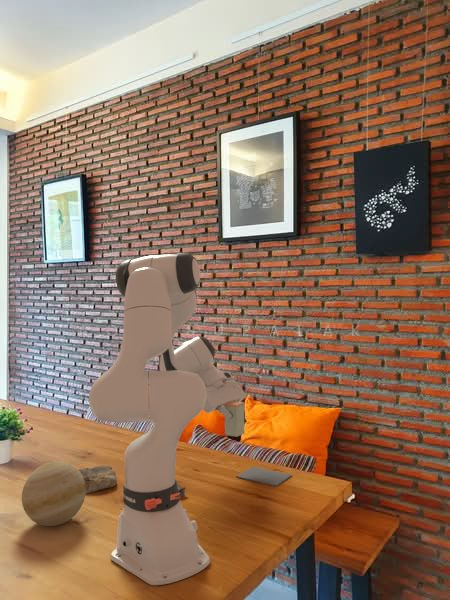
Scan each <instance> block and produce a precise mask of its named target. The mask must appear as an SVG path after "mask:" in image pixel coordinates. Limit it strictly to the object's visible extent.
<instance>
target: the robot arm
mask: <svg viewBox="0 0 450 600" xmlns="http://www.w3.org/2000/svg"><path fill="white" fill-rule="evenodd" d="M200 279H201V269H200V265H199V263H198V261H197V259H196V257H195V256H194V255H192V254H191V253H186V252H178V253H171V254H170V253H167V254H158V255H156V254H153V255H147V256H142V257H138V258H135V259H133V258H130V259H127V260H125V261H122V262H120V264H119V266H118V267H117V268H116V271H115V283H116V287H117V289H118V292H119V293H120V294H121V295H122V296H123V297H124V300H123V301H124V302H123V303H124V304H123V332H122V333H123V335H122V343H121V347H120V351H119V353H118V355H117V357H116V359H115V361H114V362H113V364H112V365H111V366H110V367H109V368H108V369H107V370H106V371H104V373H102V374H101V375H99V376H98V378H97V379H95V381H94V382H93V384H92V386H91V388H90V390H89V393H88V403H89V408H90V409H91V412H92V415H94V416H95V418H97V420H99V421H103V422H109V423H110V422H111V423H117V424H118V423H119V424H122V423H123V424H124V423H139V422H140V423H144V422H150V423H152V424H153V425H152V427H151V428H150V430H148V431H147V432H146V433H145V434H142V435H141V436H139V437H137V438H136V439H133V440H132V441H131V442H130V443H129V444H128V445H127V448H126V449H125V451H124V479H125V480H124V483H123V487H122V488H123V490H122V498H123V500H122V502H123V503H124V505H123V508H122V510H121V512H120V514H119V515H118V518H117V527H116V529H117V530H116V544H115V545H116V547H115V549H114V550H112V552H111V553H110V560H111V561H113V562H114V563H116V564H117V565H119V566H120V567H122V568H123V569H125V570H126V571H128V572H130V573H131V574H133V575H134V576H136V577H138V578H139V579H141V580H142V581H144V582H145V583H146V584H148V585H150V586H162V585H167V584H168V585H169V584H173V583H175V582H179V581H181V580H184V579H186V578H189V577H192V576H194V575H196V574H197V573H200V572H201V571H203V570H205V568H207V567H208V566H209V565H210V564H211V559H210V557H209V554H207V552H206V551H205V550H204V548H203V547H202V546H201V545H200V543H199V542H198V535H197V531H198V528H199V527H198V524H197V520H195V519H194V520H193V519H192V520H190V519H191V518H190V517H189V516H188V510H187V509H186V508H184V507H183V505H182V503H181V497H182V496H181V497H180V495H179V494H181V493H179V487H178V485H177V483H178V481H177V479H176V457H177V449H178V444H179V441H180V438H181V436H182V434H183V433H184V430H185V429H186V427H187V426H188V425H189V424H190V422H192V421H193V419H195V418H196V417H198V416H199V415H200V414H201V412H202V411H204V412H205V413H206V414H209V413H213V412H215V411H217V412H218V413H219V414H221V415H223V416H224V418H225V417H226V418H227V419H231V418H232V417H233V414H232V413H231V411H230V412H229V411H228V410H226V409H225V404H226V403H229V402H232V401H237V402H243V400H244V399H245V398H246V393H245V391H244V390H243V388H242V387H241V386H240V385H239V383H238V382H237V381H236V380H234V379H233V378H234V376H233V375H232V373H230V372H226V371H222V370H219V369H218V368H217V367H216V366H215V365H214V364H213V363H212V362H213V361H214V359H215V355H216V349H215V347H214V345H213V344H212V343H211V342H210V340H209V339H208V338H207V337H203V336H199V335H198V336H195V337H194V338H191V339H190V340H187V341H184V342H182V343H181V344H180V345H179V346H178V348H176V349H174V344H173V339H174V337H175V335H176V334H177V331H178V330H179V329H180V328H181V327H182V326H183V325H184V324H185V323H186V322H187V321H188V320H189V319H190V318H191V317H192V315H193V314H194V312H195V311H196V308H197V296H196V289H197V288H198V287H199V285H200V281H201V280H200ZM156 357H158V367H159V370H154V371H153V370H151V371H148V370H146V369H145V368H146V366H147V363H148V362H149V361H151V360H153V359H155V358H156Z"/></svg>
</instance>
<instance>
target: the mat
mask: <svg viewBox="0 0 450 600" xmlns="http://www.w3.org/2000/svg"><path fill="white" fill-rule="evenodd" d="M291 477H293V474H290V473H286V472H285V473H284V472H281V471H275V470H271V469H267V468H262V467H257V466H252V467H250V468H248V469H245V470H244V471H243V472H241V473H238V475H236V478H238V479H242V480H246V481H250V482H255V483H258V484H263V485H267V486H272V487H278V486H280V485H281V484H282V483H284V482H285V481H287V480H288V479H290V478H291Z"/></svg>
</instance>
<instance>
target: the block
mask: <svg viewBox="0 0 450 600" xmlns="http://www.w3.org/2000/svg"><path fill="white" fill-rule="evenodd" d="M225 409H226V410H228V411H229V412H230V411H231V413H232V414H233V417H232V418H231V419H227V418H226V417H225V416H224V435H225V436H230V437H235V438H237V437H240V436H243V435H244V434H245V402H243V401H241V402H237V401H232V402H229V403H226V404H225Z"/></svg>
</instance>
